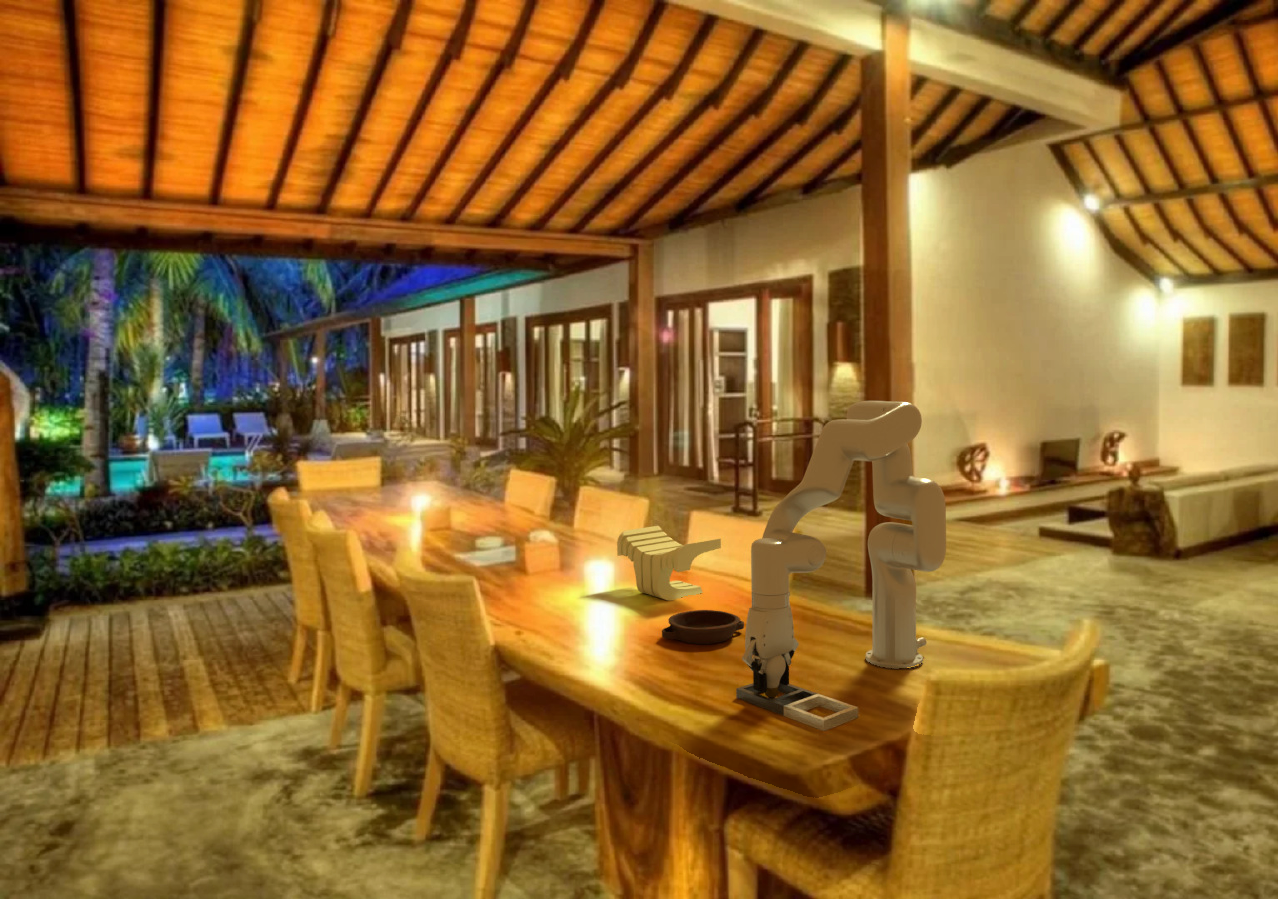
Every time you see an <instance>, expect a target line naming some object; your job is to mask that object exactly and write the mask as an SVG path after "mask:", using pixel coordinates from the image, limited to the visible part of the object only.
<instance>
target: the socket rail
mask: <svg viewBox="0 0 1278 899" xmlns="http://www.w3.org/2000/svg"><path fill="white" fill-rule="evenodd" d="M735 689H736V690H735V691H736V693H735V694H736V699H738V700H741V701H744V702H746V703H748V704H751V705H753V706H757V707H759V708H762V709H765V710H766V711H770V712H773V713H775V714H777V715H780V716H783V717H785V718H789V719H791V720H793V721H796V722H799V723H801V724H804V725H807V726H810V727H812V728H815V729H817V730H819V731H823V732H826V731H829V730H831V729H833V728H836V727H837V726H840V725H843V724H846V723H848V722H851V721H853V720H856V719H858V718H859V706H855V705H853V704H850V703H847V702H844V701H841V700H838V699H836V698H832V697H829V696H827V695H826V696H825V695H823V694H820V693H817V692H814V691H811V690H809V689H805V688H803V687H799V686H796V685H793V684H791V683H789V685H784V684H781V683H779V685H778V693H781V694H783V695H779V696H776V697H775V698H774V699H770V698H768V697H767V696H766V695H761V694H760V693H761V692H760V691H757V690H754V688H753V682H752V683H749V684H746V685H743V686H740V687H737V688H735ZM816 707H821V708H823V709H826V710H829V709H830V710H829V711H831V710H832V712H834V713H832V714H830V715H827V716H824V717H823V716H820V715H817V714H814V713H812V712H808V710H811V709H814V708H816Z"/></svg>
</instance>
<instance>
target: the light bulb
mask: <svg viewBox="0 0 1278 899" xmlns="http://www.w3.org/2000/svg"><path fill="white" fill-rule="evenodd" d="M760 662H761V660H758V664H759V665H760ZM785 668H786V663H785V660H784V658H783V656H782V655H778V656H775V657H772V658H769V659H767V662H766V667H765V671H764V673H766V674H767V692H765V693H764V696H765V697H768V698H770V699H774V698H777V697H779V696H778V695H779V692H778V685H779V682H780V679H781V677H782V675H783V673H784V672H785Z"/></svg>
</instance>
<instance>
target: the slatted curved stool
mask: <svg viewBox="0 0 1278 899" xmlns="http://www.w3.org/2000/svg"><path fill="white" fill-rule="evenodd" d="M721 543H722V539H721V538H716V539H710V540H704V541H698V542H692V543H686V544H682V543H679V542H678V541H676V540H674V539H673V538H671V537H670V536H668V534H667V533H666V532H665V531H663V529H662V528H661V526H659V525H654V526H647V527H646V526H645V527H641V528H634V529H626V530H624V531H622V532H621V533H620V534H619V535H618V537H617V541H616V545H617V547H616V549H617V557H619V556H622V557H623V556H624V557H626V558H628V559H629V561H630V562H631V563H632V562H633V569H634V570H633V571H634V574H635V581H636V587H637V590H638V592H640V593H644V594H646V595H649V596H653V597H656V598H659V599H662V600H666V601H675V600H678V599H677V598H679V599H682V598H681V597H684V596H688V595H694V596H697V595H696V594H699V595H701V594H700V593H704V592H703V590H702V587H701V586H700V585H696V584H693V583H689V582H686V581H685V582H684V581H681V580H672V581H670V579H671V576H672V573H673V571H676V572H677V573H682V572H687V571H691V567H692V563H693V562H694V560H695V559H696V558H697V557H699V556H700V555H702V554H704V553H708V552H711V551H715V550H718V549H721V548H722V546H721V545H722V544H721ZM684 598H685V597H684ZM674 599H675V600H674Z"/></svg>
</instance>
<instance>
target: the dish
mask: <svg viewBox="0 0 1278 899" xmlns="http://www.w3.org/2000/svg"><path fill="white" fill-rule="evenodd" d="M667 620H668V624H669V626H668V627H665V628H663V629H661V637H662V638H663V639H667V640H679V641H681V642H683V643H687V644H694V645H695V644H697V645H711V644H712V645H713V644H719V643H723V642H725V641H728V640H729V639H730V638H732V637H733V636H734V633H735V632H737V631H740V630H743V629H744V628H745V622H744V621H743V620H741V619H740V617H739V616H738V615H736V614H733V613H730V612H727V611H722V610H713V609H697V610H687V611H683V612H679V613H676V614H672V615H671V616H670V617H669V618H668V619H667Z"/></svg>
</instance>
